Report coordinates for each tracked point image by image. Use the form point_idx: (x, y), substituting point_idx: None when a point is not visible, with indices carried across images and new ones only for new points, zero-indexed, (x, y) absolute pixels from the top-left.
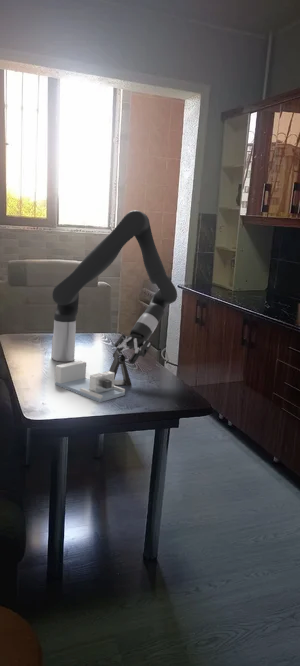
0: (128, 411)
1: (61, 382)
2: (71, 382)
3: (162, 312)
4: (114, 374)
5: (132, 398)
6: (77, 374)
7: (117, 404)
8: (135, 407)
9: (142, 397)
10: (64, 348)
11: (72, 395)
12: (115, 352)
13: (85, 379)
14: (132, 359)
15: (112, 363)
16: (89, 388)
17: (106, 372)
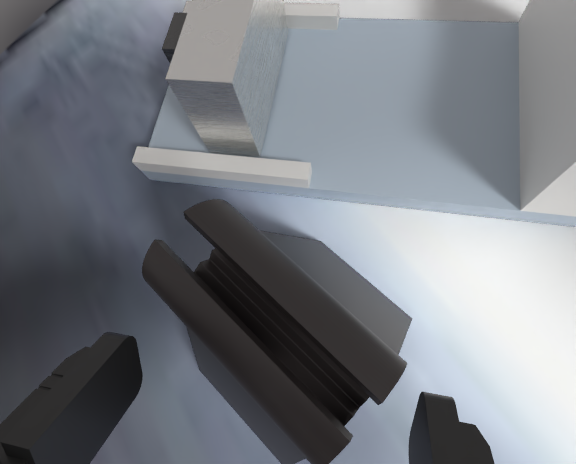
0: (46, 38)
1: (520, 22)
2: (493, 76)
3: None
4: (170, 85)
5: (93, 169)
6: (538, 115)
7: (119, 62)
8: (36, 88)
9: (52, 219)
10: None
11: (355, 3)
12: (380, 349)
13: (486, 181)
14: (82, 364)
15: (389, 339)
16: (284, 15)
17: (222, 43)
